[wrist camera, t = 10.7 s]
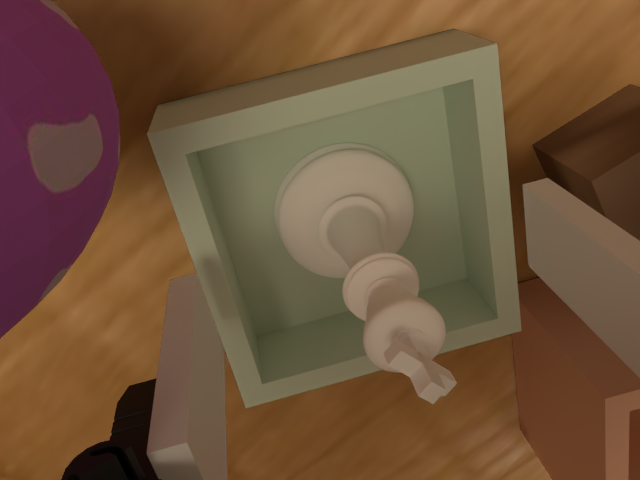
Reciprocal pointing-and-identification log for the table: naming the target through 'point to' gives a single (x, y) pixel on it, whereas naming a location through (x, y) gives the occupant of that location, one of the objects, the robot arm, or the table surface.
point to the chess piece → (365, 254)
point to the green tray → (320, 131)
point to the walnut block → (600, 158)
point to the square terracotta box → (573, 393)
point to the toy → (49, 150)
